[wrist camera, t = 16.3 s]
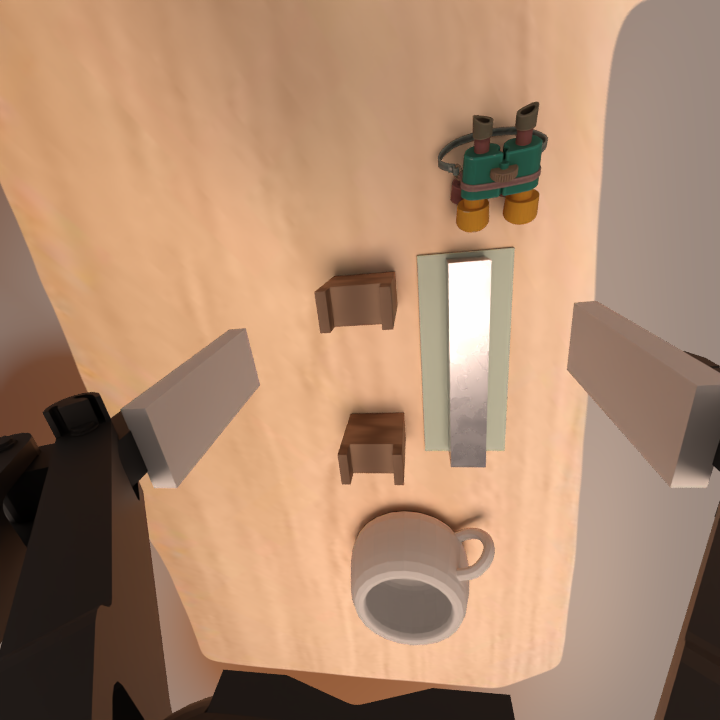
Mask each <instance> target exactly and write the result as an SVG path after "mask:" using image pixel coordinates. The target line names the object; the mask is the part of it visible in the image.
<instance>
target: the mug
mask: <svg viewBox="0 0 720 720" xmlns="http://www.w3.org/2000/svg"><path fill="white" fill-rule="evenodd" d="M468 539H478V540H480V541H481V542H482V543H483V546H484V549H483V553H482V555H481V557H480V558H479V559H478V561H477V562H476V563H475V564H474V565H472V566H468V560H467V556H466V552H465V549H464V547H463V544H462V542H463V541H465V540H468ZM494 554H495V548H494V543H493V540H492V538H491V536H490V535H489V534H488V533H487V532H485V531H483V530H481V529H478V528H466V529H462V530H460V531H457V532H453V531H452V529H451V528H450V527H449V526H448V525H446V524H445V523H443V522H441V521H439V520H438V519H436V518H434V517H431V516H428V515H425V514H422V513H417V512H407V511H402V512H392V513H388V514H385V515H382V516H379V517H376V518H375V519H373V520H372V521H370V522H369V523H367V524H366V525H365V527H364V528H363V529H362V530H361V531H360V533H359V535H358V537H357V539H356V542H355V545H354V547H353V550H352V558H351V593H352V600H353V603H354V605H355V608H356V611H357V613H358V616H359V618H360V619H361V620H362V622H363V623H364V624H365V626H367V627H368V628H369V629H370V630H372V631H373V632H374V633H376V634H378V635H379V636H381V637H383V638H385V639H388V640H391V641H394V642H397V643H401V644H408V645H427V644H432V643H437V642H440V641H442V640H444V639H446V638H448V637H450V636H451V635H452V634H453V633H455V632H456V631H457V630H458V628H459V626H460V625H461V623H462V621H463V619H464V617H465V614H466V608H467V602H468V596H469V580H472V579H475V578H478V577H479V576H481V575H482V574H483V573H484V572H485V571H486V570H487V569H488V568H489V566H490V565H491V563H492V561H493V558H494Z"/></svg>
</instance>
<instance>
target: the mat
mask: <svg viewBox="0 0 720 720" xmlns="http://www.w3.org/2000/svg"><path fill="white" fill-rule="evenodd" d="M514 251H515V248H514V247H513V248H501V249H490V250H478V251H466V252H455V253H443V254H431V255H420V256H417V266H418V290H419V314H420V338H421V362H422V386H423V411H424V435H425V451H449V449H448V396H447V329H446V262H445V259H447V258H459V257H471V256H483V255H484V256H486V257H488V258H489V259H491V293H490V329H489V364H488V399H487V435H486V451H505V432H506V412H507V392H508V372H509V352H510V332H511V311H512V291H513V271H514Z"/></svg>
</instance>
